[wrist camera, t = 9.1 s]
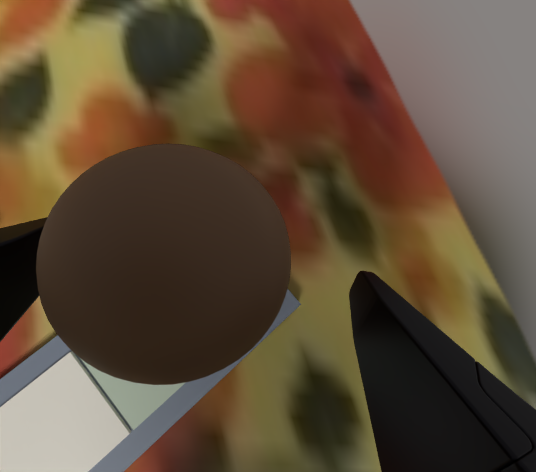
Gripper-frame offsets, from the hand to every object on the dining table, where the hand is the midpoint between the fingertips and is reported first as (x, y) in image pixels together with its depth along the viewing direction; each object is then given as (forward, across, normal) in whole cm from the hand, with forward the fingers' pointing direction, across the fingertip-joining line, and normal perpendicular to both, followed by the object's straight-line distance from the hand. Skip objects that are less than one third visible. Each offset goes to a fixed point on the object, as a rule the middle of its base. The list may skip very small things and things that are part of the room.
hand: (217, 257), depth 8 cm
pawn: (+4, 0, +5) cm, 6 cm away
